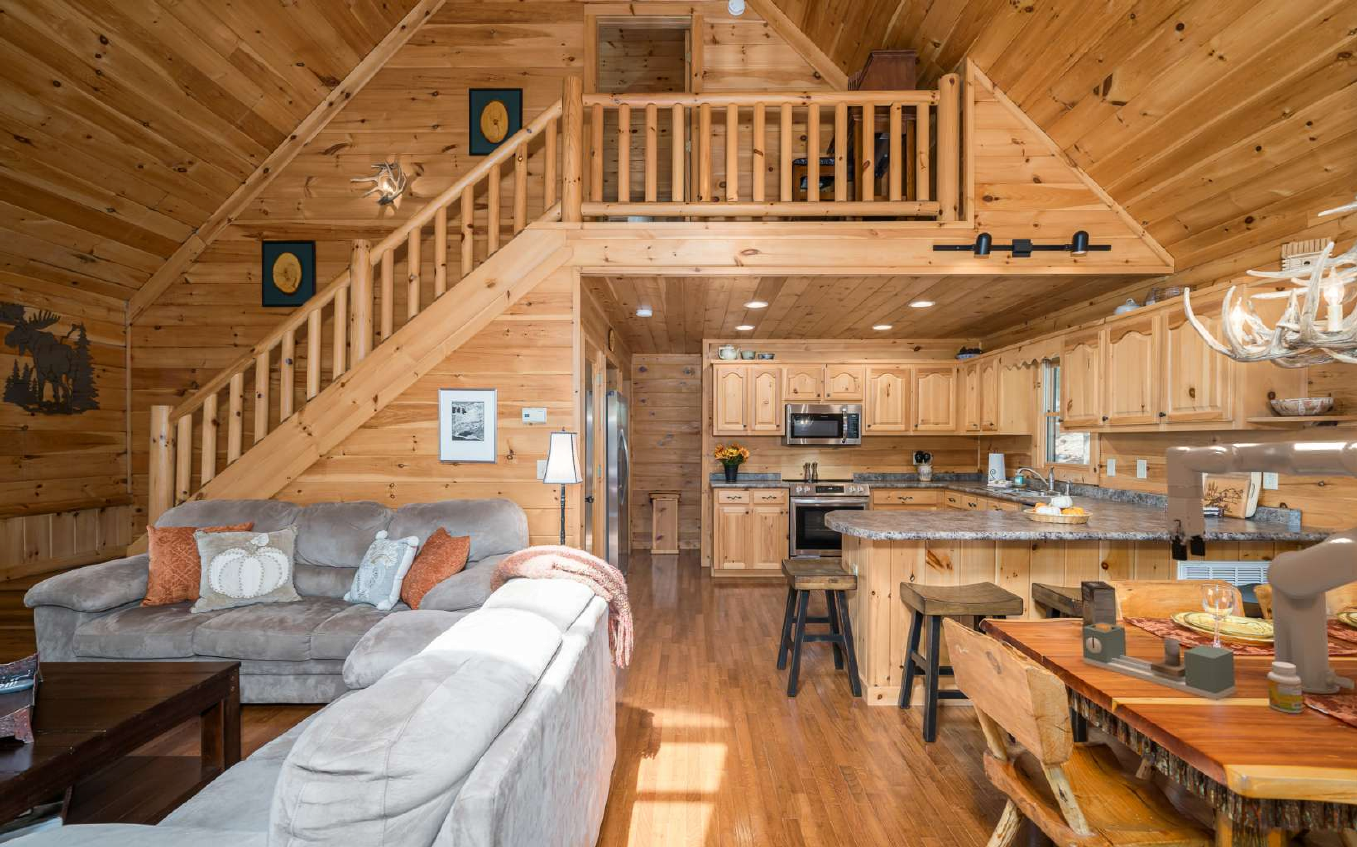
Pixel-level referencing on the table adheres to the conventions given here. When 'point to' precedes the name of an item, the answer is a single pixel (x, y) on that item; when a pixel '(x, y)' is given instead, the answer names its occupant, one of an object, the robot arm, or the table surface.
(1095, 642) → the far cabinet
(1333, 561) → the robot arm
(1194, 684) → the near cabinet
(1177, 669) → the carriage
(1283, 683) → the supplement bottle
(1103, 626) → the button
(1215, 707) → the table surface
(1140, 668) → the rail track
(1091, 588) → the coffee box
